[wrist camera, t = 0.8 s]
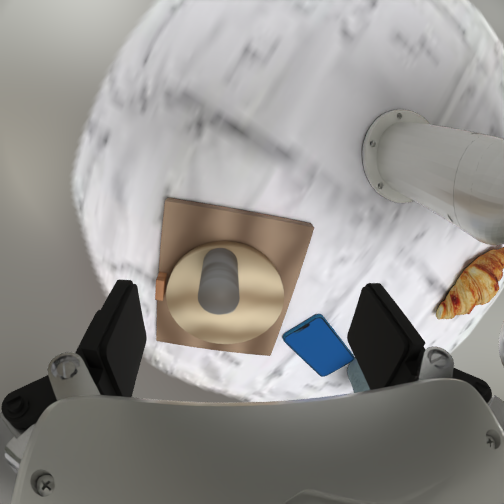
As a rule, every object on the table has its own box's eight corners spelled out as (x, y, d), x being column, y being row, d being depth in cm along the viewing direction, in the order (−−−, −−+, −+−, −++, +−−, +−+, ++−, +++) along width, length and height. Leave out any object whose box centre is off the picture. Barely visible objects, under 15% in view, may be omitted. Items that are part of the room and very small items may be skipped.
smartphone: (322, 378, 49) (280, 338, 43) (321, 374, 50) (279, 334, 44) (356, 359, 48) (321, 314, 42) (354, 355, 49) (319, 310, 42)
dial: (281, 331, 41) (291, 376, 33) (180, 337, 40) (172, 383, 32) (282, 236, 34) (297, 274, 26) (158, 246, 34) (139, 285, 26)
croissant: (428, 309, 49) (448, 339, 45) (427, 299, 42) (451, 335, 37) (494, 245, 44) (516, 272, 39) (503, 225, 36) (528, 255, 31)
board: (311, 223, 36) (318, 234, 33) (269, 349, 45) (271, 364, 42) (167, 197, 33) (161, 206, 30) (158, 334, 42) (154, 349, 39)
